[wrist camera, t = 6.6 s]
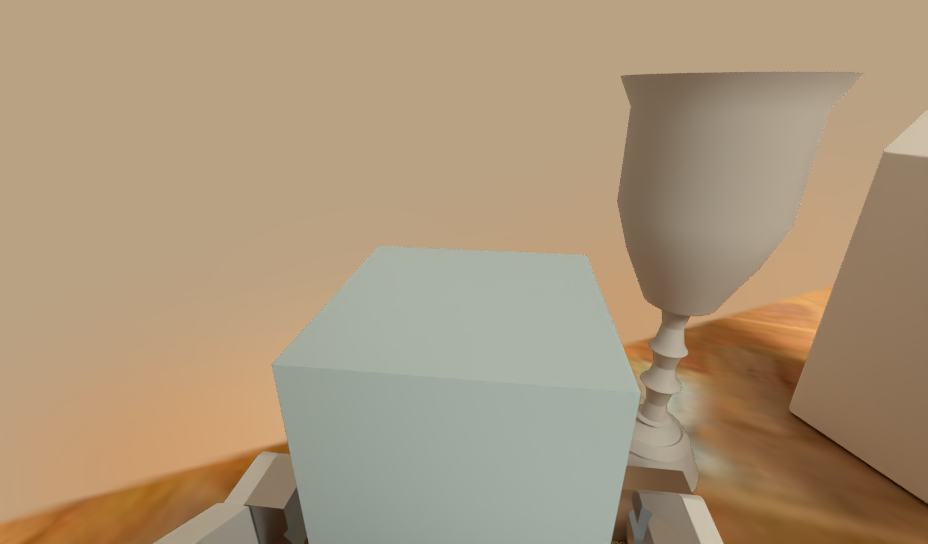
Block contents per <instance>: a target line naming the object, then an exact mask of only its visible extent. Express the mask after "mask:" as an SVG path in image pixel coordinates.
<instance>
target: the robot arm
mask: <svg viewBox="0 0 928 544" xmlns="http://www.w3.org/2000/svg"><path fill="white" fill-rule="evenodd" d="M631 501H632V505H633V510H632V511H630V512H629V513H628V518H627V541H628V544H724V543H723V541H722V539H721V537H720V534H719V532H718V530H717V528H716V526H715V523H714V521H713V519H712V517H711V515H710V512H709V510H708V508H707V506H706V503H705V501H704V499H703V498H702V497H701V496H699V495H689V494H676V493H671V492H659V491H648V490H637V489H635V491H634V492H633V495H632V499H631ZM306 538H307V533H306V528H305V523H304V518H303V513H302V509H301V504H300V499H299V494H298V489H297V484H296V479H295V475H294V470H293V465H292V460H291V455H290V454H285V453H275V452H267V451H263V452H262V453H260V454H259V455H258V456H257V457H256V458H255V460H254V461H253V462H252V464H251V465H250V466H249V468H248V469H247V471H246V472H245V473H244V475H243V476H242V477H241V479H240V480H239V482H238V483H237V484H236V486H235V487H234V489H233V490H232V491H231V493H230V494H229V495H228V497H227V498H226V500H225V501H224V502H223V503H216V504H215V505H213V506H211V507H210V508H208V509H207V510H205V511H203V512H202V513H200V514H199V515H197V516H195V517H194V518H192V519H191V520H189V521H187V522H186V523H184V524H183V525H181V526H179V527H178V528H176V529H175V530H173V531H171V532H170V533H168V534H167V535H165V536H163V537H162V538H160V539H159V540H157V541H155V542H154V543H152V544H304V542H305V540H306Z"/></svg>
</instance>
